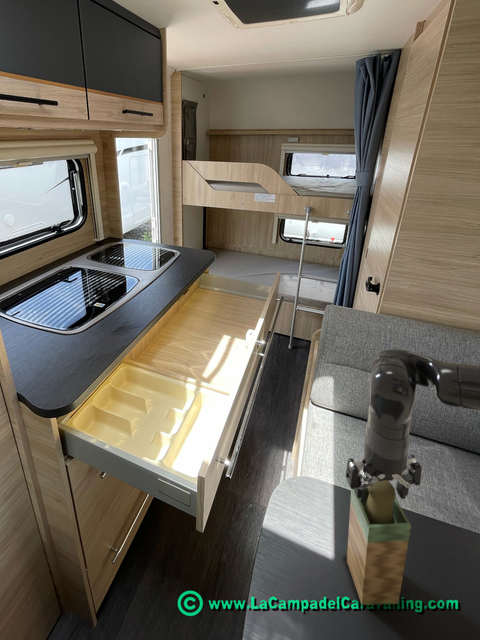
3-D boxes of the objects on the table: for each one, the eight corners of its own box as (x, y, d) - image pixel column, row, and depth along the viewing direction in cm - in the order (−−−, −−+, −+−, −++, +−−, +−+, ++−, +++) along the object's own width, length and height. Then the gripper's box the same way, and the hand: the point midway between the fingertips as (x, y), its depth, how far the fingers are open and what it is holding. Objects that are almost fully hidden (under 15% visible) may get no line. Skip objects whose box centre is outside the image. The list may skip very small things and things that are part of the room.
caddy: (379, 561, 86) (389, 484, 75) (398, 605, 78) (411, 525, 67) (346, 562, 86) (351, 486, 76) (361, 606, 78) (368, 527, 68)
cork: (400, 529, 71) (405, 495, 67) (375, 536, 70) (379, 503, 66) (381, 500, 76) (384, 468, 72) (357, 507, 76) (360, 475, 72)
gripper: (358, 461, 62) (354, 516, 67) (435, 456, 61) (425, 512, 66) (342, 428, 69) (340, 480, 75) (411, 423, 68) (404, 476, 73)
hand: (380, 495), depth 70 cm, fingers open, 8 cm apart
